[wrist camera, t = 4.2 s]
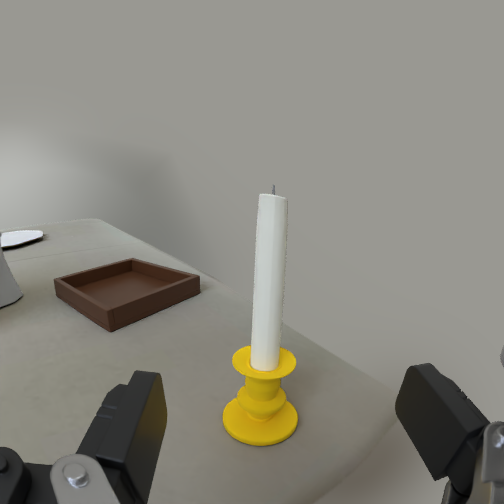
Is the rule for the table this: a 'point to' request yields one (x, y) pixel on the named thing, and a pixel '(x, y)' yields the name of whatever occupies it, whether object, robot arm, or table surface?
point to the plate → (19, 237)
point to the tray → (125, 291)
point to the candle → (265, 340)
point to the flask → (7, 282)
